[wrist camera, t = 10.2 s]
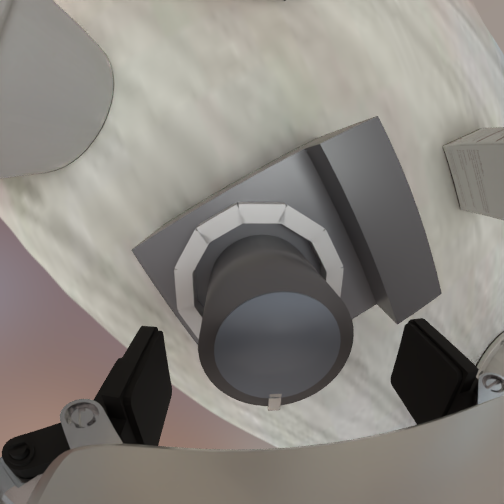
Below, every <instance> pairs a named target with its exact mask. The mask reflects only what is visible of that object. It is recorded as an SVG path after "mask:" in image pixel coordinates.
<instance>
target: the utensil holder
mask: <svg viewBox="0 0 504 504" xmlns="http://www.w3.org/2000/svg"><path fill="white" fill-rule="evenodd" d="M113 84H114V83H113V73H112V68H111V64H110V61H109V59H108V57H107V56H106V54H105V53H104V51H103V50H102V49H101V48H100V46H99V45H98V44H97V43H96V42H95V41H94V40H93V39H92V38H91V37H90V36H89V35H88V34H87V33H86V32H85V31H84V29H83V28H82V27H81V26H80V25H79V24H78V23H77V22H75V21H74V20H73V19H72V18H71V17H70V16H69V15H68V14H67V13H66V12H65V11H64V10H63V9H61V8H60V7H59V6H58V5H57V4H56V3H55V2H54V1H53V0H0V178H9V177H17V176H24V175H31V174H39V173H46V172H51V171H54V170H57V169H60V168H62V167H64V166H66V165H68V164H69V163H71V162H72V161H74V160H75V159H76V158H78V157H79V156H80V155H81V154H82V153H83V152H84V151H85V150H86V149H87V148H88V147H89V145H90V144H91V143H92V142H93V140H94V139H95V137H96V136H97V134H98V133H99V131H100V129H101V128H102V126H103V123H104V121H105V119H106V117H107V114H108V111H109V108H110V105H111V101H112V96H113Z"/></svg>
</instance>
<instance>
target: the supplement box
mask: <svg viewBox="0 0 504 504" xmlns="http://www.w3.org/2000/svg"><path fill="white" fill-rule="evenodd" d="M443 148H444V151H445V154H446V157H447V160H448V163H449V166H450V170H451V173H452V177H453V180H454V184H455V187H456V191H457V195H458V199H459V203H460V208H461V210H466V211H470V212H474V213H478V214H482V215H486V216H490V217H493V218H497V219H501V220H504V127H496V128H483V129H479V130H477V131H475V132H473V133H471V134H469V135H466V136H464V137H462V138H460V139H457V140H455V141H453V142H451V143H449V144H446V145H444V146H443Z"/></svg>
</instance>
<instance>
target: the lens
mask: <svg viewBox="0 0 504 504" xmlns="http://www.w3.org/2000/svg"><path fill="white" fill-rule="evenodd" d="M352 344H353V323H352V319H351V316H350V313H349V311H348V309H347V307H346V305H345V303H344V302H343V301H342V300H341V298H340V297H339V296H338V295H337V293H336V292H335V291H334V290H333V289H332V288H331V286H330V285H329V284H328V283H327V282H326V281H325V280H324V278H323V277H322V276H321V275H320V274H319V273H318V272H317V270H316V269H315V268H314V267H313V266H312V265H311V264H310V262H309V261H308V260H307V259H306V258H305V257H304V256H303V254H302V253H301V252H300V251H299V250H298V249H297V248H296V247H295V246H294V245H292V244H291V243H289V242H288V241H286V240H284V239H282V238H279V237H276V236H271V235H253V236H248V237H245V238H242V239H240V240H238V241H236V242H234V243H233V244H231V245H229V246H228V247H227V248H226V249H225V250H224V251H223V252H222V253H221V254H220V255H219V257H218V258H217V260H216V262H215V264H214V266H213V268H212V271H211V276H210V281H209V286H208V291H207V296H206V302H205V307H204V312H203V318H202V323H201V329H200V334H199V340H198V352H199V358H200V362H201V365H202V367H203V369H204V371H205V373H206V375H207V376H208V378H209V379H210V381H211V382H212V383H213V384H214V385H215V386H216V387H217V388H218V389H220V390H221V391H222V392H223V393H225V394H227V395H228V396H230V397H232V398H234V399H236V400H239V401H242V402H245V403H248V404H253V405H261V406H268V411H273V410H280V405H285V404H289V403H293V402H297V401H300V400H302V399H305V398H307V397H309V396H311V395H313V394H315V393H317V392H318V391H320V390H321V389H323V388H324V387H325V386H326V385H328V384H329V383H330V382H331V381H332V380H333V379H334V378H335V377H336V376H337V375H338V373H339V372H340V371H341V369H342V368H343V366H344V365H345V363H346V361H347V359H348V357H349V354H350V352H351V348H352Z"/></svg>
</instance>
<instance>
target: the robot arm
mask: <svg viewBox="0 0 504 504" xmlns="http://www.w3.org/2000/svg"><path fill="white" fill-rule="evenodd" d="M391 384H392V386H393V388H394V389H395V391H396V392H397V394H398V395H399V397H400V398H401V400H402V401H403V403H404V405H405V406H406V408H407V409H408V411H409V412H410V414H411V416H412V417H413V419H414V420H415V422H416V423H417V425H415V426H411V427H407V428H403V429H399V430H395V431H391V432H387V433H383V434H378V435H373V436H369V437H364V438H358V439H353V440H347V441H341V442H334V443H327V444H319V445H311V446H301V447H290V448H276V449H252V450H220V449H194V448H178V447H164V446H158V443H159V439H160V436H161V432H162V429H163V425H164V421H165V417H166V414H167V410H168V406H169V403H170V399H171V395H172V386H171V381H170V375H169V369H168V363H167V357H166V350H165V343H164V336H163V332H162V331H158V328H157V327H150V326H141V328H140V329H139V331H138V332H137V334H136V336H135V337H134V339H133V341H132V342H131V344H130V346H129V347H128V349H127V351H126V352H125V354H124V356H123V357H122V358H119V359H118V360H117V361H116V363H115V364H114V366H113V368H112V370H111V371H110V373H109V375H108V376H107V378H106V380H105V381H104V383H103V385H102V386H101V388H100V390H99V392H98V394H97V395H96V397H95V399H94V400H90V399H79V400H75V401H72V402H70V403H68V404H67V405H66V406H65V407H64V408H63V409H62V411H61V414H60V421H61V423H58V424H55V425H52V426H49V427H46V428H43V429H40V430H37V431H34V432H30V433H27V434H24V435H20V436H17V437H14V438H13V439H10V440H9V441H8V442H6V444H5V445H4V447H3V450H2V457H1V458H0V504H504V332H503V333H502V334H501V335H500V336H499V337H497V338H496V340H495V341H494V342H493V343H492V344H491V345H490V347H489V348H488V349H487V351H486V352H485V353H484V355H483V356H482V358H481V360H480V361H479V363H478V365H477V367H476V366H475V365H474V364H473V363H472V362H471V361H470V360H469V359H468V358H467V357H465V356H464V355H463V354H462V353H461V352H460V351H459V350H458V349H457V348H456V347H455V346H454V345H453V344H451V343H450V342H449V341H448V340H447V339H446V338H445V337H444V336H443V335H442V334H440V333H439V332H438V331H437V330H436V329H435V328H434V327H433V326H431V325H430V324H429V323H428V322H427V321H426V320H425V319H423V318H420V319H412V320H410V321H409V322H408V324H406V325H405V327H404V331H403V336H402V339H401V343H400V347H399V351H398V355H397V358H396V362H395V365H394V368H393V372H392V375H391Z"/></svg>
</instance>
